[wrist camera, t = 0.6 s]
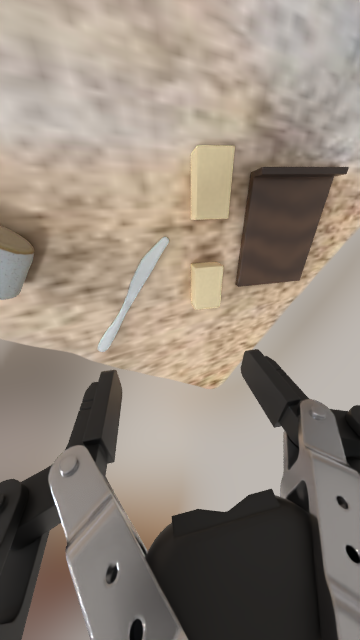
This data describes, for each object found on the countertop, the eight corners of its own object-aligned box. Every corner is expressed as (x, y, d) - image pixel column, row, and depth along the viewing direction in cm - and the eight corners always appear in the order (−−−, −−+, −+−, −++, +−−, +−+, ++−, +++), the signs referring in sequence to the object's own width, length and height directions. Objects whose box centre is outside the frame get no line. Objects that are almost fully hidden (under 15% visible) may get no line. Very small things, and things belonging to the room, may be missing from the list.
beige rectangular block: (190, 154, 24) (197, 144, 21) (224, 154, 25) (235, 145, 22) (190, 220, 28) (196, 220, 25) (219, 218, 29) (228, 218, 26)
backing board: (250, 172, 26) (263, 166, 24) (329, 171, 28) (349, 166, 26) (235, 284, 36) (242, 290, 33) (295, 278, 37) (307, 283, 35)
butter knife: (91, 348, 36) (105, 354, 37) (157, 230, 28) (173, 242, 29) (92, 347, 37) (105, 352, 38) (157, 230, 28) (172, 242, 29)
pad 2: (190, 263, 32) (195, 268, 29) (216, 261, 32) (223, 265, 29) (190, 302, 36) (195, 310, 33) (213, 300, 36) (219, 307, 34)
